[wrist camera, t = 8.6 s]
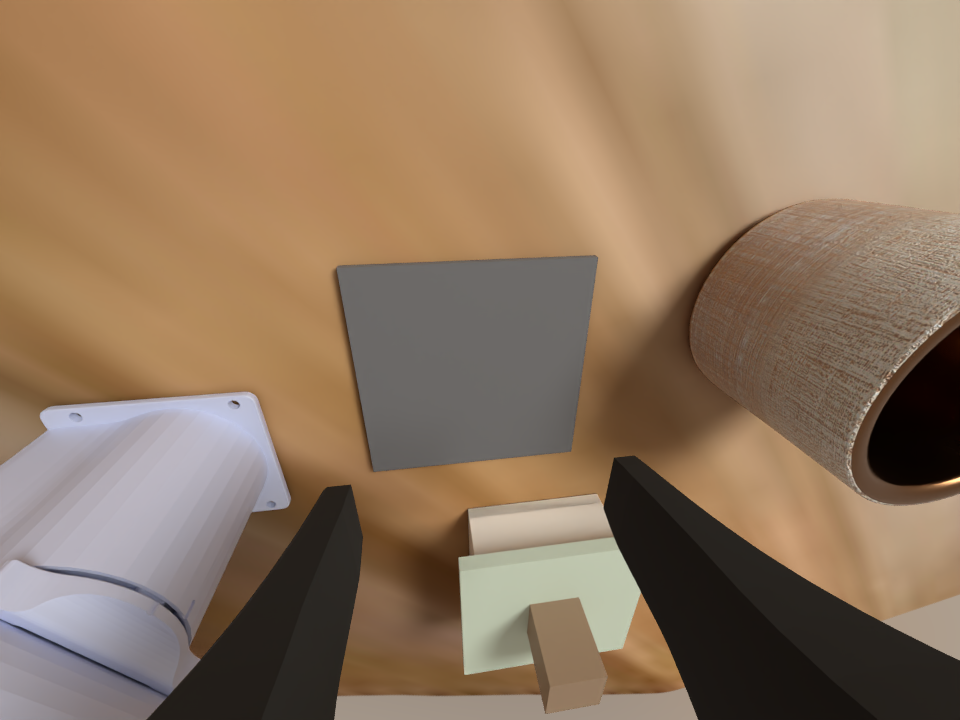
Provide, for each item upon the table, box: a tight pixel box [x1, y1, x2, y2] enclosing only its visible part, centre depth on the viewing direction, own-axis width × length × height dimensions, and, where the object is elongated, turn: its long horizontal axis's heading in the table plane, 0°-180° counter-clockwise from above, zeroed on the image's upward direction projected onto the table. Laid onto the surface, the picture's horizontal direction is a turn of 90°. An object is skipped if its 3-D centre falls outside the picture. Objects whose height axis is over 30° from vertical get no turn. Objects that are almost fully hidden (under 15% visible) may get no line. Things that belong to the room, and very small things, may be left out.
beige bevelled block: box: [468, 494, 614, 556], centre depth 26 cm, size 9×9×4 cm
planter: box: [689, 199, 960, 506], centre depth 17 cm, size 11×11×10 cm
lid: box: [458, 537, 641, 714], centre depth 22 cm, size 11×11×5 cm
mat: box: [337, 255, 598, 472], centre depth 21 cm, size 12×12×1 cm
